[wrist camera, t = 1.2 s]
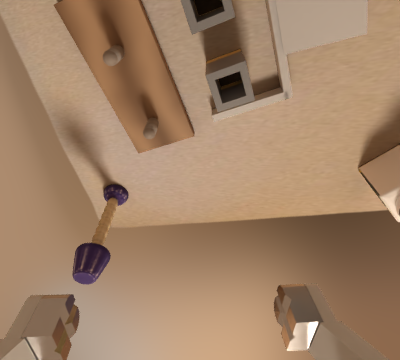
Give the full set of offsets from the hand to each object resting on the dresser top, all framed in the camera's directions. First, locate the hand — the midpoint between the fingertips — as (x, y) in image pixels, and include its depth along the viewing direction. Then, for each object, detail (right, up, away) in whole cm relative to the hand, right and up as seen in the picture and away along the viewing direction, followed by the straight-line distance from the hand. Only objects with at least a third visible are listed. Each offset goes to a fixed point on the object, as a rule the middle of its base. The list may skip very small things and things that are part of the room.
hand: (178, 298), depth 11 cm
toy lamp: (-14, +2, +36) cm, 39 cm away
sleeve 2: (+4, +19, +23) cm, 30 cm away
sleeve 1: (+2, +25, +19) cm, 31 cm away
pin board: (-8, +18, +24) cm, 31 cm away
